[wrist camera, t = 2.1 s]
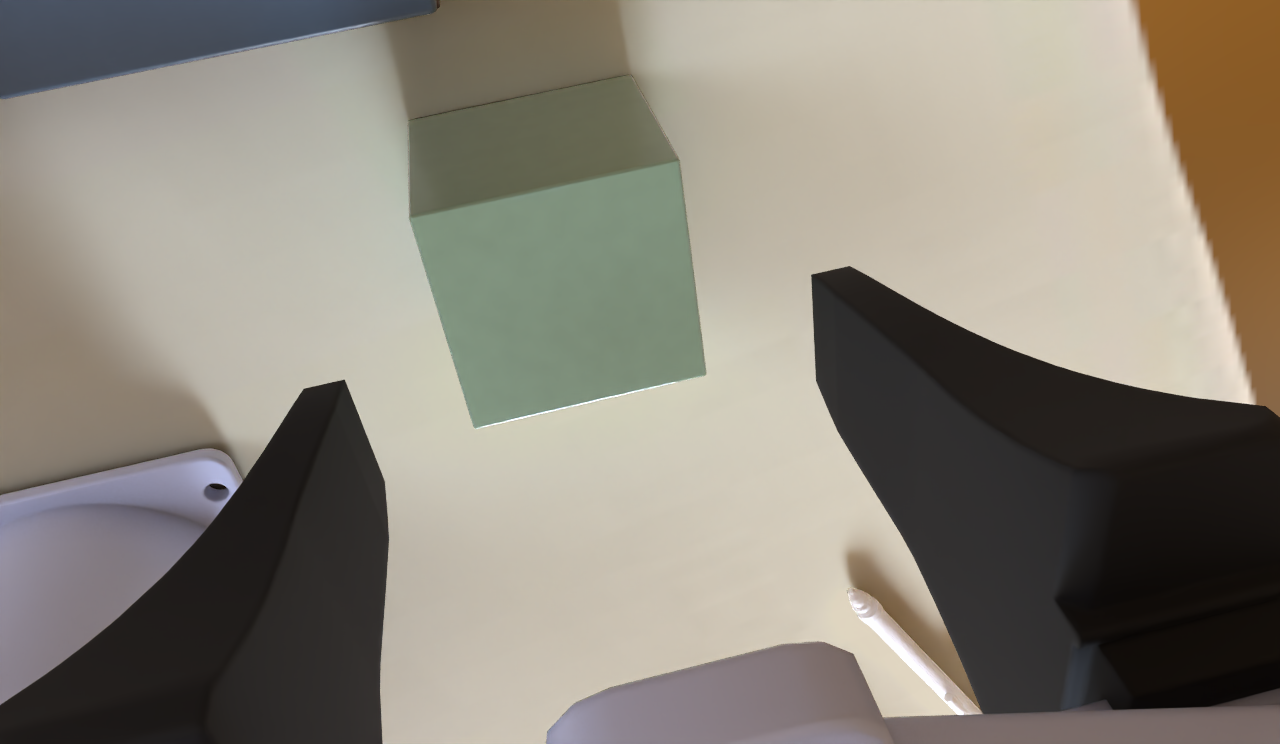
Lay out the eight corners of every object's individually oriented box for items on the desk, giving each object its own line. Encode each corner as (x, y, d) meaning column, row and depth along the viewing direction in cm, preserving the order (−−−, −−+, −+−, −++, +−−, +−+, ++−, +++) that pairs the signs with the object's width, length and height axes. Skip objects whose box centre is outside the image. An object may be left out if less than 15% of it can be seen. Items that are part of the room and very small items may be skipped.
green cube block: (660, 267, 22) (707, 376, 19) (463, 312, 22) (474, 430, 18) (631, 73, 20) (679, 158, 16) (407, 119, 19) (408, 216, 16)
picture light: (834, 587, 29) (861, 644, 28) (963, 505, 28) (998, 559, 27) (1015, 769, 37) (1044, 822, 35) (1120, 710, 36) (1156, 761, 34)
